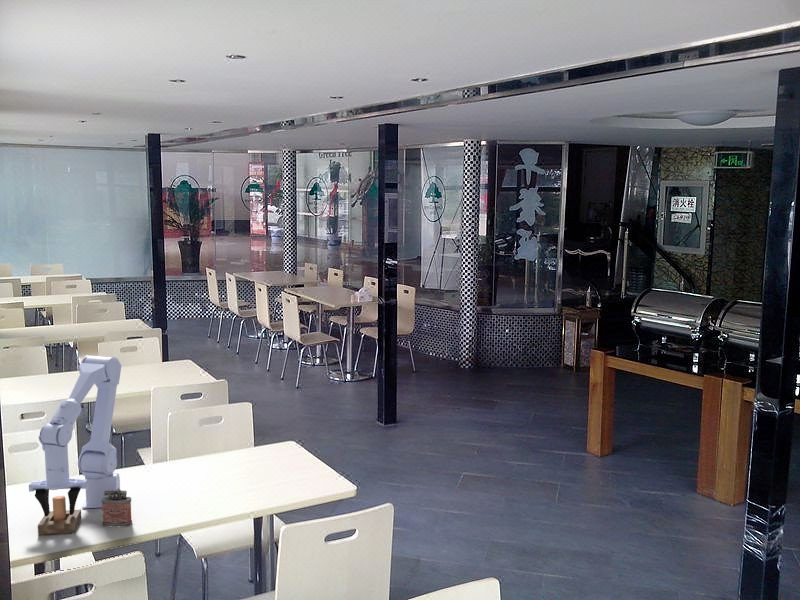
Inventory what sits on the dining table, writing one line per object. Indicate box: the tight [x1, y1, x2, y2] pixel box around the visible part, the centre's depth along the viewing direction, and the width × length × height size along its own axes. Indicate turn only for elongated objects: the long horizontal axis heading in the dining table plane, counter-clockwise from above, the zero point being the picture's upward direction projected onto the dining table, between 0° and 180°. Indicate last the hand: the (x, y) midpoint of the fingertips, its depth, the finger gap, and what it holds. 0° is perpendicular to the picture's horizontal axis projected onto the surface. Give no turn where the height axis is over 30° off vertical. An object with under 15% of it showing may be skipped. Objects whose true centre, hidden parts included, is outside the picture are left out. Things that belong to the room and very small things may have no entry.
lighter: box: [101, 488, 133, 528], centre depth 211 cm, size 8×3×10 cm, turn 92°
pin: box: [52, 495, 67, 521], centre depth 209 cm, size 3×3×8 cm
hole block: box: [37, 509, 82, 537], centre depth 209 cm, size 9×9×3 cm
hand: (59, 514), depth 209 cm, fingers open, 6 cm apart
